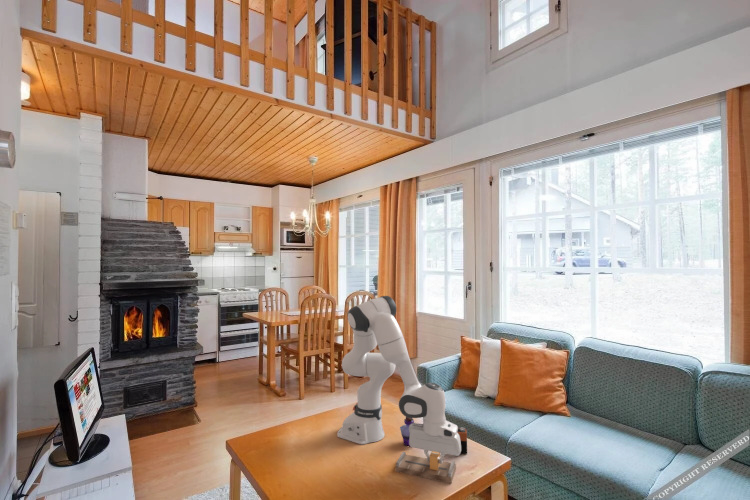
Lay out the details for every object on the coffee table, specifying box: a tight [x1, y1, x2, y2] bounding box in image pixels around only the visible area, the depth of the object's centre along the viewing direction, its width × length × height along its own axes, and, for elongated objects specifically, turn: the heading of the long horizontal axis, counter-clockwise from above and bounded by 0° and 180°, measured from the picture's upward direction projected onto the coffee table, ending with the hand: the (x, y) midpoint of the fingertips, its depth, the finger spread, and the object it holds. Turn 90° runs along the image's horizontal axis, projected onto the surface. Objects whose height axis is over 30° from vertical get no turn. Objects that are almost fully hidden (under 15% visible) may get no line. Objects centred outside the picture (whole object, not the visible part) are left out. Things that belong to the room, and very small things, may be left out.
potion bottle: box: [399, 416, 415, 448], centre depth 168 cm, size 9×9×12 cm
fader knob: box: [429, 451, 441, 471], centre depth 145 cm, size 3×5×5 cm, turn 158°
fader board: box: [394, 451, 457, 484], centre depth 146 cm, size 22×10×3 cm, turn 68°
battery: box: [457, 426, 468, 455], centre depth 161 cm, size 4×7×10 cm, turn 79°
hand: (434, 461), depth 145 cm, fingers closed on fader knob, 3 cm apart
